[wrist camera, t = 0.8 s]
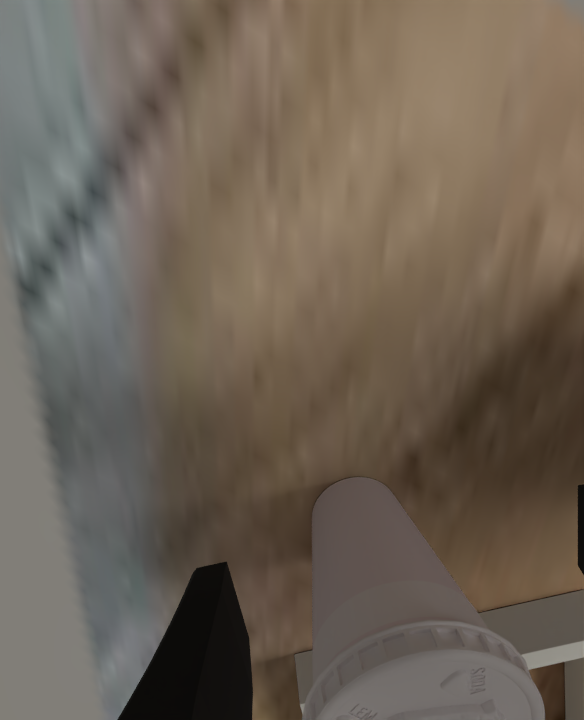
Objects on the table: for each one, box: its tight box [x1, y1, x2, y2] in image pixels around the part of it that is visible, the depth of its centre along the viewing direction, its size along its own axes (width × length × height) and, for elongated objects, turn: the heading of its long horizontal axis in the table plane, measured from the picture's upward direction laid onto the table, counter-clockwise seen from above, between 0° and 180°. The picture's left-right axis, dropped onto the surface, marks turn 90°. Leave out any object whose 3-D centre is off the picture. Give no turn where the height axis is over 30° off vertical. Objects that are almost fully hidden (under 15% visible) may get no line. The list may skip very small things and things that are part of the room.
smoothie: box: [302, 477, 545, 720], centre depth 16 cm, size 6×6×14 cm
